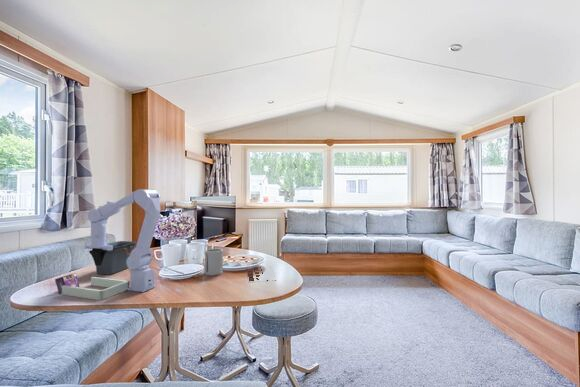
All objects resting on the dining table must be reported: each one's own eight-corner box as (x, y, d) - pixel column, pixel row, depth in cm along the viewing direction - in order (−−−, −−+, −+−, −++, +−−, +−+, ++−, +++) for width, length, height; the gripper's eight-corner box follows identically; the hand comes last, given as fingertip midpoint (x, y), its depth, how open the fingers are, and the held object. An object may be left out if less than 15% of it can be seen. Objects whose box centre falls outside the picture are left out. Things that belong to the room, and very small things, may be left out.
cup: (225, 270, 162) (225, 248, 162) (219, 275, 153) (219, 252, 153) (208, 270, 163) (208, 248, 163) (202, 275, 154) (202, 251, 154)
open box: (129, 289, 132) (129, 281, 132) (101, 300, 118) (101, 291, 118) (92, 284, 138) (92, 276, 138) (61, 294, 124) (61, 286, 124)
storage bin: (117, 265, 173) (117, 240, 173) (142, 266, 171) (142, 241, 171) (88, 275, 152) (88, 247, 152) (115, 276, 150) (115, 248, 150)
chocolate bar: (246, 268, 169) (246, 266, 169) (270, 267, 171) (270, 265, 171) (248, 283, 142) (248, 281, 142) (276, 281, 145) (276, 279, 145)
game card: (56, 278, 125) (76, 272, 133) (47, 281, 126) (68, 275, 135) (61, 294, 124) (80, 287, 133) (51, 297, 125) (72, 290, 134)
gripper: (118, 234, 137) (118, 264, 137) (94, 233, 141) (94, 262, 141) (104, 237, 130) (105, 268, 130) (79, 235, 134) (79, 265, 134)
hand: (98, 265), depth 135 cm, fingers closed
